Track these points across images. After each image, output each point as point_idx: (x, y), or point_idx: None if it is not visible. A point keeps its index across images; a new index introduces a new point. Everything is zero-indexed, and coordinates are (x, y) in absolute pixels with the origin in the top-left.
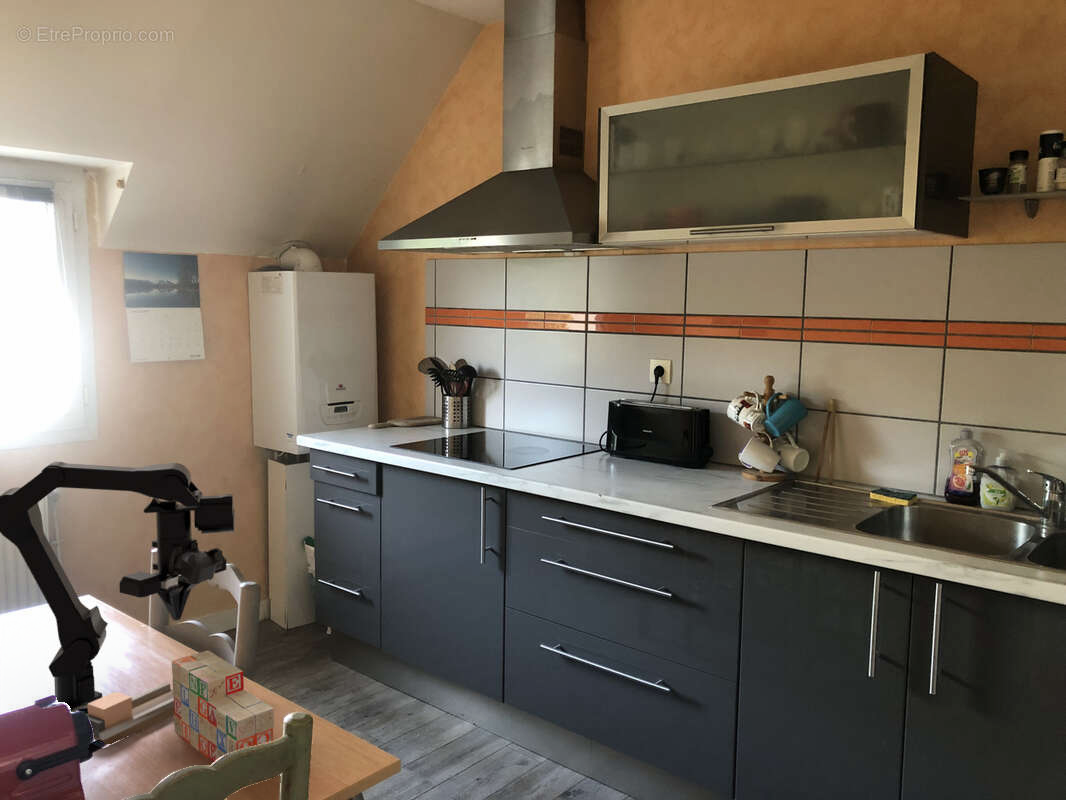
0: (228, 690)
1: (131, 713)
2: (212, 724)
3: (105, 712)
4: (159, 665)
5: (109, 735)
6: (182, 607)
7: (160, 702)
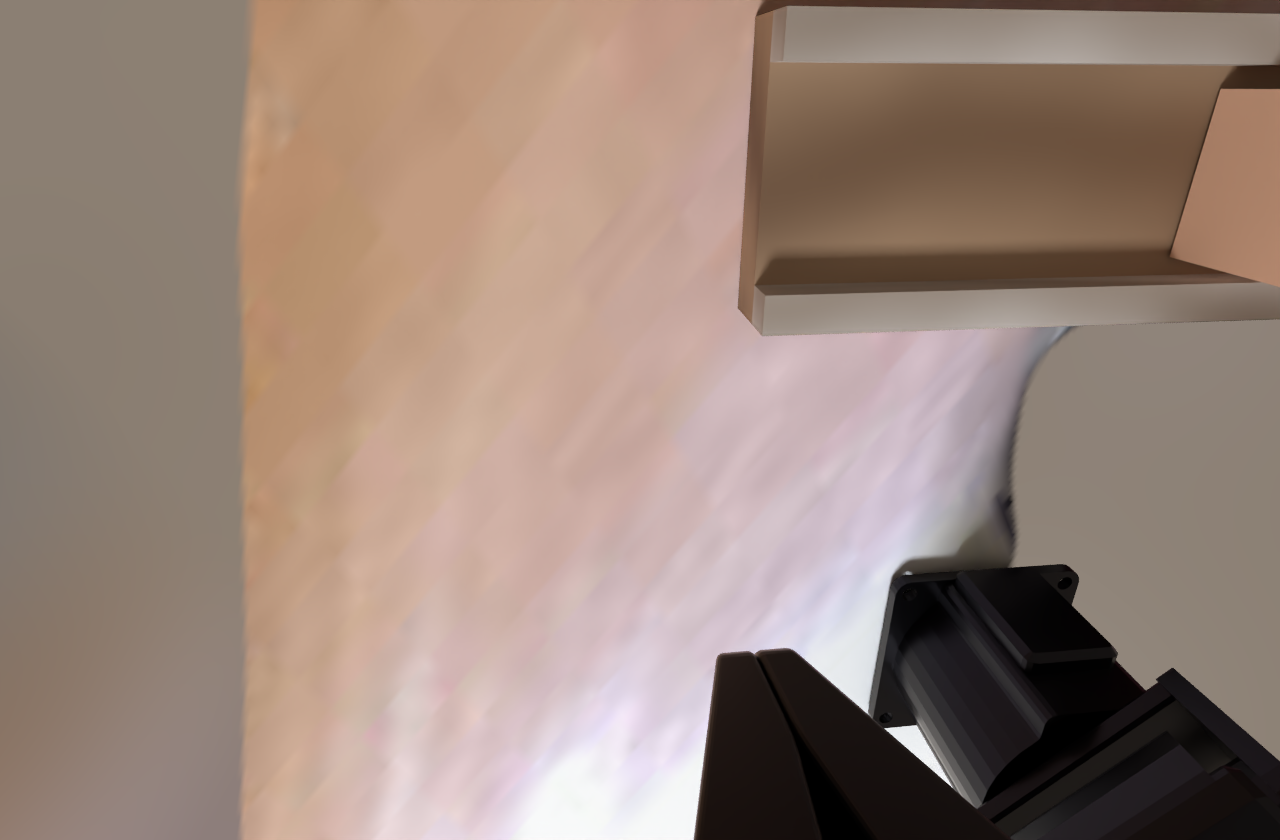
0: None
1: (1272, 89)
2: None
3: None
4: (474, 672)
5: None
6: (758, 809)
7: (940, 163)
